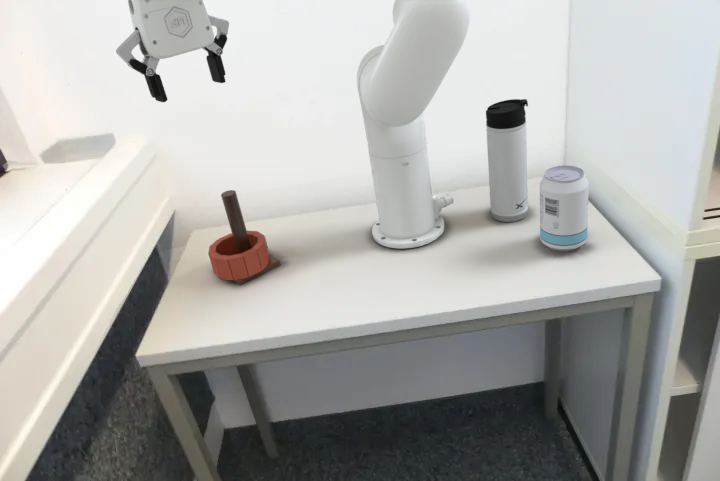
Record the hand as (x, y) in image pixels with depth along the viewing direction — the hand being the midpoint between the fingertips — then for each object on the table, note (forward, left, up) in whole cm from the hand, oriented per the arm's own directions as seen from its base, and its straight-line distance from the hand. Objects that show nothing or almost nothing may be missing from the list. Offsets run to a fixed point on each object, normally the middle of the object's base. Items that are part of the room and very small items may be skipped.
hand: (191, 91), depth 91 cm
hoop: (+1, +3, -29) cm, 29 cm away
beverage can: (-37, +39, -30) cm, 62 cm away
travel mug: (-40, +26, -30) cm, 57 cm away
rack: (0, +3, -30) cm, 30 cm away
